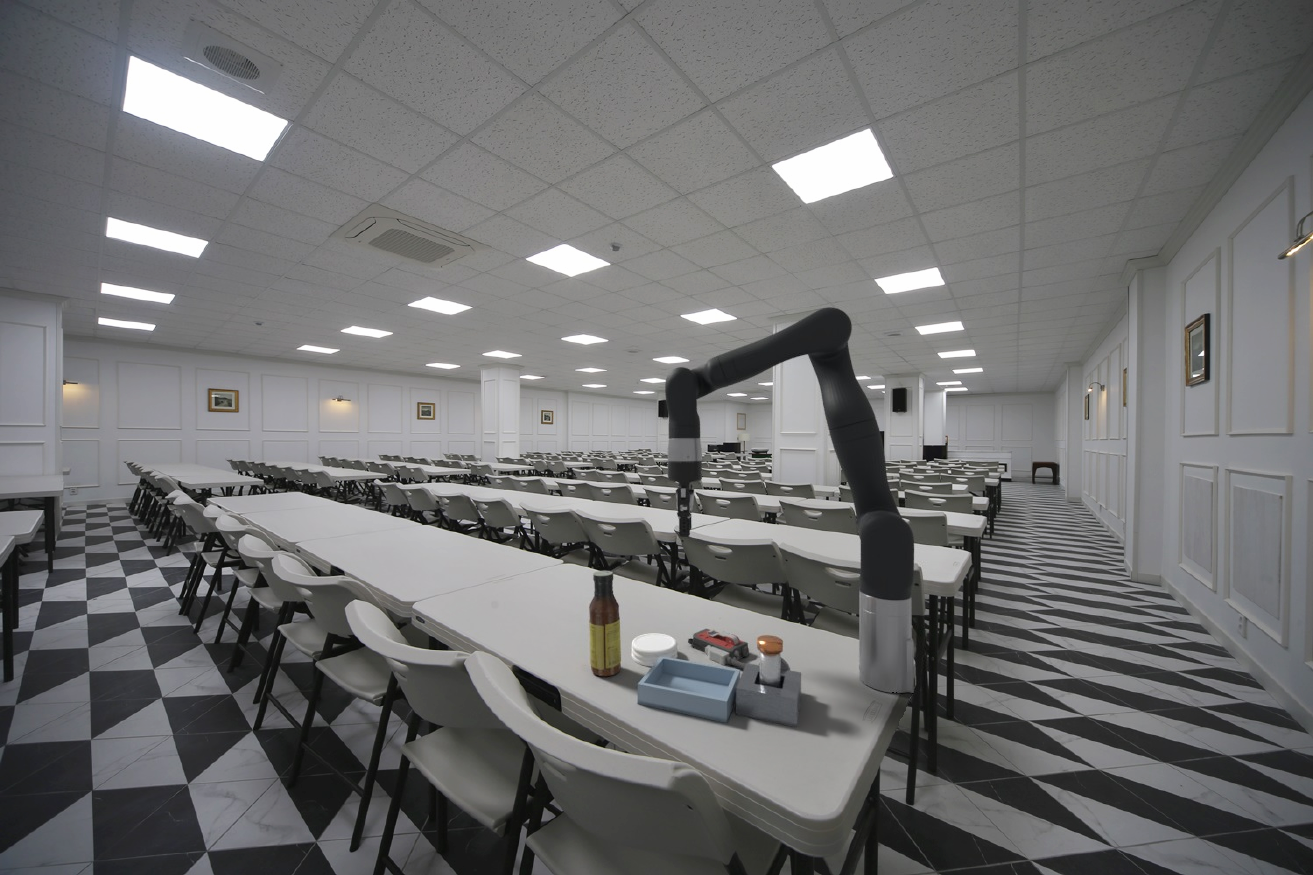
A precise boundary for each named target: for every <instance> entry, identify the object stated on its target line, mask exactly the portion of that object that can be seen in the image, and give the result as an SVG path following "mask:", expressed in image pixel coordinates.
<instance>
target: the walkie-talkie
mask: <svg viewBox="0 0 1313 875" xmlns="http://www.w3.org/2000/svg"><path fill="white" fill-rule="evenodd" d="M739 638H740V637H738V636H737V635H736V634H733V633H730V632H727V631H721V632H718V631H716V630H715V629H714V628H713V629H709V628H704V629H701V630H699V631H697V632H695V633H693V634H692V638H688V639H687V643H688V644H689V645H691V646H692V647H693V648H695V649H696V650H699V651H701V652H704V653H706V655H707V656H708V659H709V660H712V661H714V662H716V663H719V664H720V665H721V666H722V665H723V666H725V665H727V664H728V665H732V666H734V667H735V666H736V667H737V668H740V669H742V670H744V668H745V666H746V663H744V662H741V661H739V660H740V659H742V658H743V657H744V658H747V657H748V655H749V653H750V649H749V644H748V642H746V641H743V640H740V639H739Z"/></svg>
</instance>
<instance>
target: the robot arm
mask: <svg viewBox="0 0 1313 875" xmlns="http://www.w3.org/2000/svg"><path fill="white" fill-rule="evenodd" d="M852 326H853V325H852V321H851V319H850V317H849V315H848V314H847V313H846V312H845V311H843V310H841V309H840V308H836V307H830V306H829V307H823V308H821V309H817V310H816V311H815V312H812V313H811V314H809V315H807V316H806V317H804V318H801V319H800V320H798V321H797V322H795V323H793V324H791V325H790V326H787V327H785V328H782V329H781V330H779V331H777V332H774V333H772V334H771V335H768V336H765V337H764V338H761V339H759V340H756V341H754V342H751V343H749V344H745V345H742V346H740V347H737V348H735V349H732V350H729V351H726V352H724V353H722V354H718V355H716V356H713V357H712V358H710V359H708V360H707V361H706V363H705V364H703V365H700V366H698V367H697V366H696V367H695V368H693V369H689V368H688V367H681V366H679V367H676V368H673V369H672V370H671V371H670V372H669V373H668V375H667V376H666V379H665V383H664V384H665V385H664V389H665V390H664V391H665V402H666V408H667V413H668V414H667V415H668V444H667V445H668V446H667V479H668V481H670V482H678V487H677V488H676V489H675V499H676V503H675V504H676V505H675V506H676V510H677V512H676V515H677V518H678V536H679V537H681V538H689V537H690V534H691V530H692V528H693V527H692V524H693V523H692V513H693V507H694V505H695V504H694V500H695V498H694V497H695V488H693V483H692V482H701V481H702V480H703V451H702V449H703V448H702V444H701V420H700V416H699V413H698V403H697V402H698V401H697V400H699V399H701V398H704V397H706V396H708V395H709V394H711V393H714V392H716V391H717V390H720V389H722V388H723V389H724V388H726V387H730V386H733V385H735V384H739V383H741V382H744V381H746V380H749V379H752V378H753V377H756V376H758V375H760V374H762V373H764V372H765V371H767V370H769V369H771V368H773V367H775V366H778V365H780V364H782V363H785V362H787V361H789V360H792V359H795V358H798V357H802V356H806V355H807V356H808V359H809V360H810V361H809V362H810V363H811V365H812V368H813V371H814V374H815V376H816V378H817V382H818V384H819V389H820V393H821V395H820V396H821V401H822V407H823V411H824V415H825V419H826V424H827V428H828V431H829V435H830V439H831V443H832V445H833V446H832V447H833V450H834V452H835V455H836V457H837V461H838V463H839V465H840V467H841V468H840V469H841V470H842V472H843V474H844V477H845V479H846V482H847V483H848V486H849V490H850V493H851V496H852V501H853V507H854V511H855V517H856V522H857V523H856V524H857V531H858V536H859V540H860V573H859V581H858V582H859V583H858V584H859V585H858V586H859V589H858V590H859V593H858V594H859V596H858V597H859V598H858V599H859V601H858V602H859V606H858V607H859V609H858V610H859V614H858V615H859V616H858V617H859V618H858V619H859V624H858V626H859V628H858V629H859V630H858V631H859V636H858V637H859V656H858V657H859V658H858V659H859V660H858V661H859V665H858V671H859V679H860V681H861V682H862V683H864V684H865V685H867V686H868V687H870V688H872V689H874V690H877V691H880V692H885V693H891V694H901V693H902V694H903V693H915V685H914V684H915V682H914V681H915V679H914V675H915V671H914V669H915V668H914V667H915V666H914V665H915V664H914V662H915V659H914V658H915V656H914V655H915V654H914V650H915V649H914V643H915V642H914V639H913V638H912V588H913V585H914V579H915V578H914V576H915V575H914V573H915V571H914V569H915V540H914V533H913V531H912V528H911V526H910V525H909V524H908V522H907V521H906V520H905V519H904V518H903V517H902V515H901V513H900V512H899V509H898V506H897V504H896V501H895V499H894V496H893V494H892V491H891V488H890V485H889V480H888V477H887V476H888V474H887V464H886V455H885V448H884V443H883V438H882V434H881V431H880V427H879V425H878V421H877V417H876V414H875V411H874V410H873V407H872V404H871V403H870V401H869V399H868V397H867V396H866V393H865V391H864V390H863V388H862V386H861V385H860V383H859V381H858V379H857V376H856V374H855V371H854V367H853V364H852V363H853V362H852V358H851V354H850V353H851V352H850V349H849V340H850V337H851V335H852V330H853V329H852V328H853V327H852ZM892 692H894V693H892ZM896 692H897V693H896Z"/></svg>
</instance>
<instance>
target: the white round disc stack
mask: <svg viewBox="0 0 1313 875" xmlns="http://www.w3.org/2000/svg"><path fill="white" fill-rule="evenodd" d="M631 641H632V642H631V649H630V650H631V659H632V660H633V662H635V663H637V664H639V665H642V666H645V667H650V668H651V667H652V666H653V665H654V664H655V663H656V661H657V660H658V659H659V658H660V657H661V656H663V657H668V658H674V659H678V641H677V640H676V639H675V638H674V637H672V636H671V635H668V634H664V633H658V632H657V633H655V632H654V633H653V632H651V633H644V634H641V635H638V636H636V637H634V639H633V640H631Z"/></svg>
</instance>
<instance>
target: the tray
mask: <svg viewBox="0 0 1313 875" xmlns="http://www.w3.org/2000/svg"><path fill="white" fill-rule="evenodd" d="M740 678H741V669H737V668H731V667H724V666H720V665H719V666H718V665H714V664H707V663H703V662H702V663H701V662H696V661H690V660H685V659H679V658H677V659H674V658H668V657H663V656H661V657H660V658H659V659H658V660H657V661H656V663H655V664H654V665H653V666H652V667H650V668H649V670H648V671H647V672H646V673H645V675H644V676H643V677H642V678H641V679H640V681H639V682H638V683H637V704H638V705H641V706H646V707H650V708H656V709H660V710H665V711H670V712H674V713H678V714H684V715H686V716H687V715H688V716H692V717H698V718H701V719H707V720H710V721H711V720H712V721H716V722H719V723H726V724H727V723H728V721H729V719H730V715H731V713H732V710H733V707H734V705H735V704H736V688H737V685H738V683H739V680H740Z"/></svg>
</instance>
